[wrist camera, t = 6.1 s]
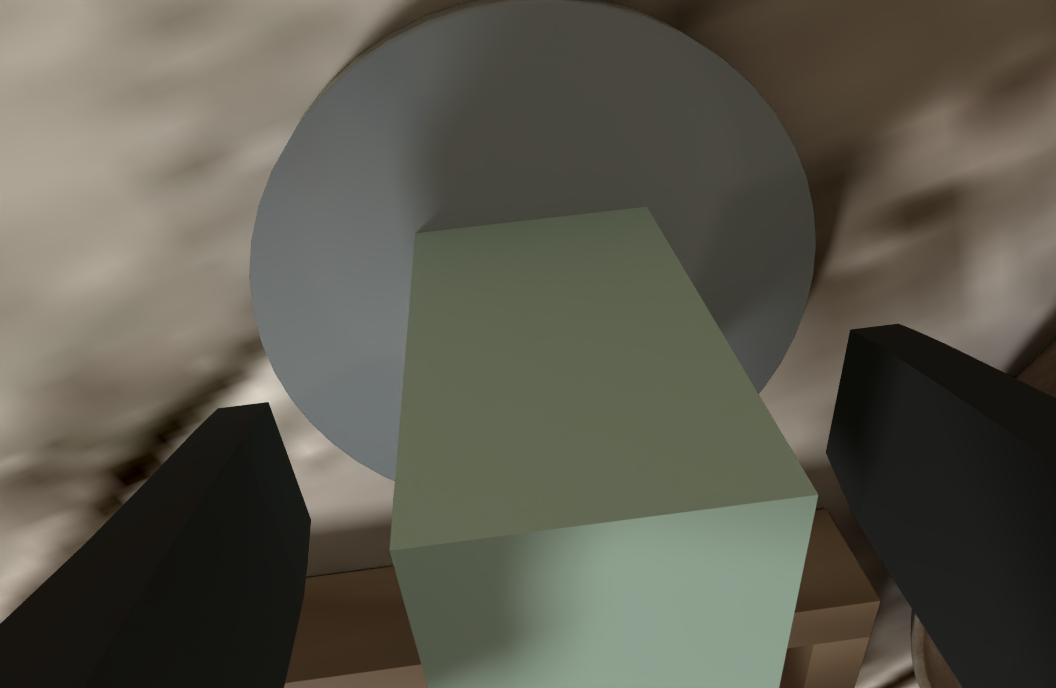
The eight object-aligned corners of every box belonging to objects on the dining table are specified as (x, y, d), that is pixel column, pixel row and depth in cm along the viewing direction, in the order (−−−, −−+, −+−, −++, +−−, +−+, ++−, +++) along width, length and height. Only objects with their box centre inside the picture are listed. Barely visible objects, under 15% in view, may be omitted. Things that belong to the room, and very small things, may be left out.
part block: (644, 390, 13) (771, 723, 8) (447, 414, 13) (450, 770, 8) (646, 206, 11) (818, 494, 6) (415, 232, 11) (388, 550, 6)
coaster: (763, 441, 15) (782, 474, 14) (334, 496, 15) (328, 533, 14) (826, -40, 10) (860, -32, 9) (181, 28, 10) (157, 43, 9)
